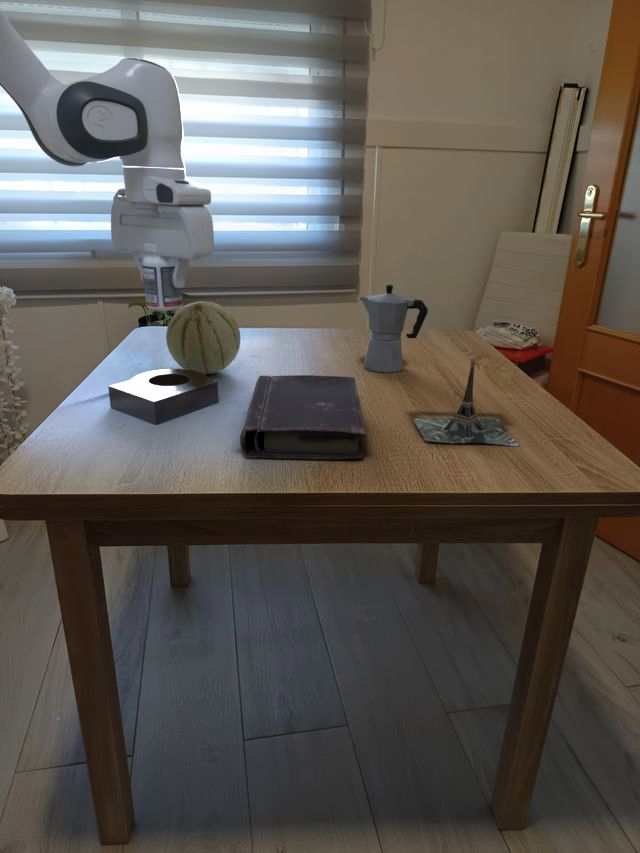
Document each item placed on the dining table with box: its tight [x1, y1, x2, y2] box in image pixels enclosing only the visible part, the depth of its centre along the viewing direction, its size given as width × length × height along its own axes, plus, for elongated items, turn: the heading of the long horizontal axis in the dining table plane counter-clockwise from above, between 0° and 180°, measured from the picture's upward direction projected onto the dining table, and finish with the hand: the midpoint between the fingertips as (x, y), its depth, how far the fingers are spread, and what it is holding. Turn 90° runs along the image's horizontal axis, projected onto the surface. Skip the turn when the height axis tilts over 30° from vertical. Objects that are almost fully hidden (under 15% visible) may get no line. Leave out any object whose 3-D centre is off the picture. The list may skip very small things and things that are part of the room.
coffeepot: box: [359, 284, 429, 374], centre depth 123 cm, size 15×9×18 cm, turn 61°
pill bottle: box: [142, 243, 184, 312], centre depth 90 cm, size 6×6×10 cm
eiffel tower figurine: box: [412, 354, 520, 447], centre depth 91 cm, size 15×10×13 cm
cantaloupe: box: [165, 300, 241, 375], centre depth 116 cm, size 15×15×15 cm
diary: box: [239, 374, 367, 461], centre depth 93 cm, size 19×25×5 cm
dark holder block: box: [107, 368, 219, 426], centre depth 101 cm, size 16×14×4 cm
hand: (163, 284), depth 90 cm, fingers closed on pill bottle, 5 cm apart
